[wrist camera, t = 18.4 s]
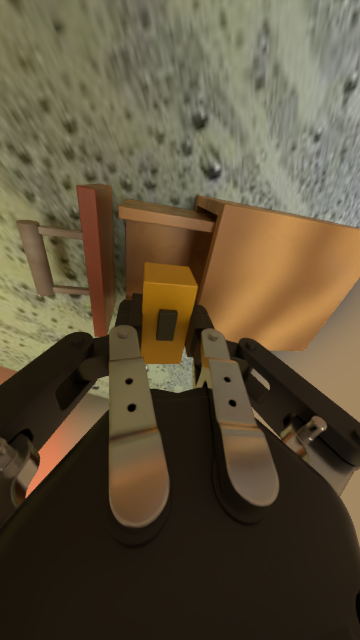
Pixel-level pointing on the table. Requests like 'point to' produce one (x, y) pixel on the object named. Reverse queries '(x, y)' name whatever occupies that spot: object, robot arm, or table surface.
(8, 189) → the table surface
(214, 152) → the table surface
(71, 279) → the table surface
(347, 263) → the cabinet
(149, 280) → the yellow rectangular block
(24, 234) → the drawer
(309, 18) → the table surface
